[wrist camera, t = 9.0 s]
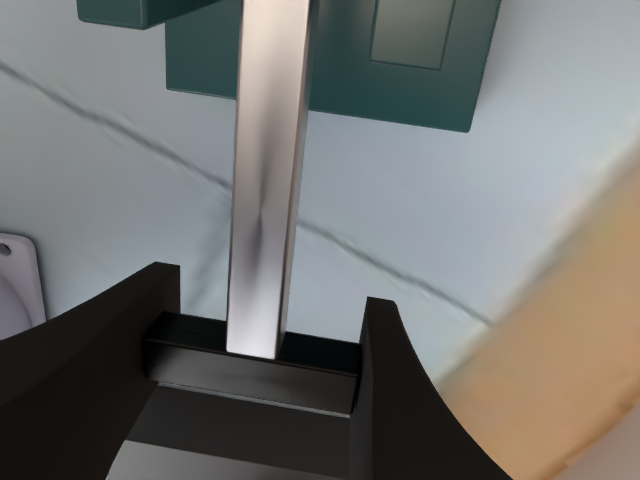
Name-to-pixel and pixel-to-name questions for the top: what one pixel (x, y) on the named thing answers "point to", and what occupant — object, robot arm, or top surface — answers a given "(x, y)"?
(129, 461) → the control panel
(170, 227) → the top surface
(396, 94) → the green lever stand
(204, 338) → the lever
